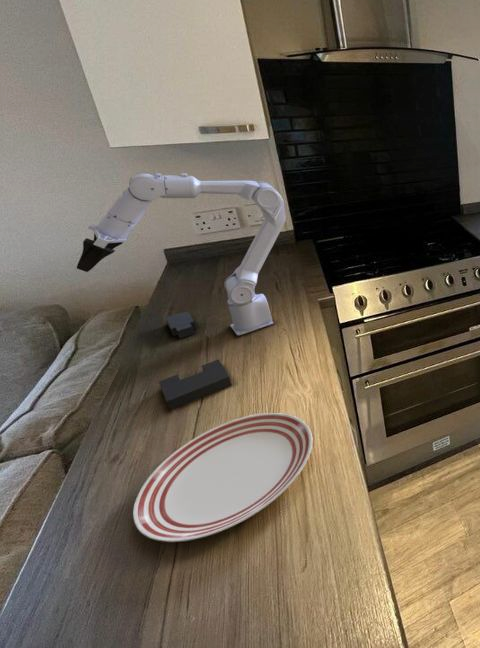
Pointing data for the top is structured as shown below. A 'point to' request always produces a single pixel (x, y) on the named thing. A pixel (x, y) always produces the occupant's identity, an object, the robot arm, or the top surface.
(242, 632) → the top surface
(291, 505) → the top surface
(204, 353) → the top surface
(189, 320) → the tongue pad
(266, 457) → the dinner plate
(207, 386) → the notch pad
